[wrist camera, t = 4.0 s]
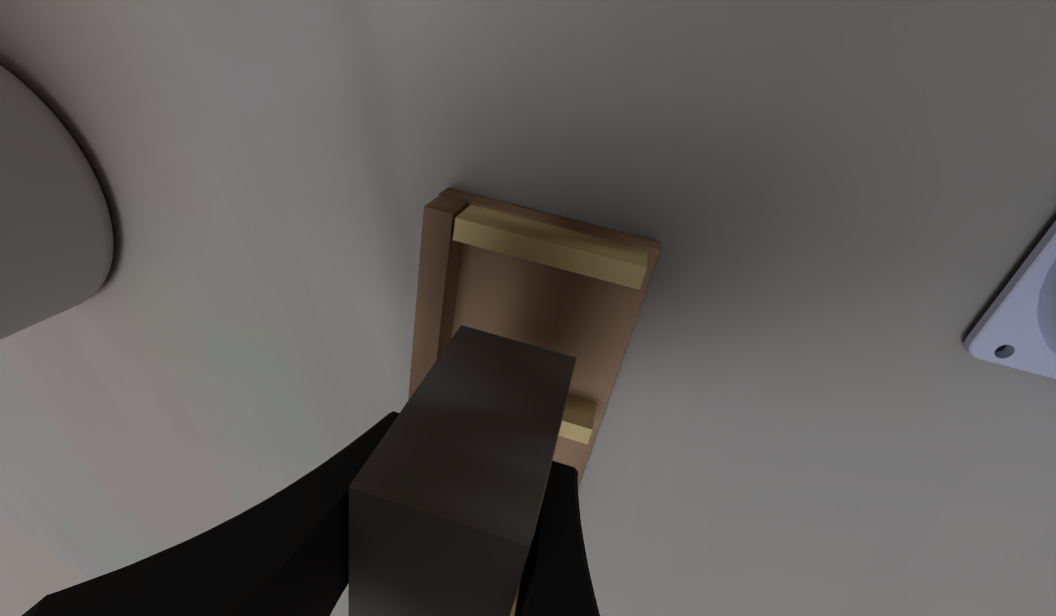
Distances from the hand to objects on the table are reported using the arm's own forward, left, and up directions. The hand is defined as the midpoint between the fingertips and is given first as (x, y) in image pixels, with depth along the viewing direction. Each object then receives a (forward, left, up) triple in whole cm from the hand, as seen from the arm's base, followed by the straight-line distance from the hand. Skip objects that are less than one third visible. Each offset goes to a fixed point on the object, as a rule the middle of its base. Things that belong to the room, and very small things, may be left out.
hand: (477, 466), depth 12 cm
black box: (0, 0, -3) cm, 3 cm away
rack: (0, +7, -8) cm, 11 cm away
